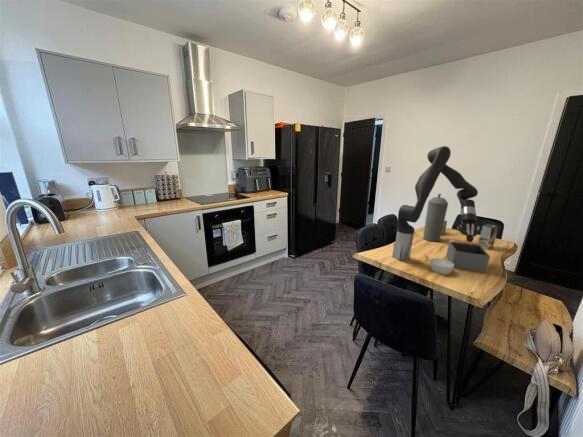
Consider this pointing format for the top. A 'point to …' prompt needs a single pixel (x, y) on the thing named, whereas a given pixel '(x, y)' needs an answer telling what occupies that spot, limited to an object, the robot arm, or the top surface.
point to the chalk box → (444, 228)
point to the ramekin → (441, 266)
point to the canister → (435, 218)
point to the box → (468, 257)
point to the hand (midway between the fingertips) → (470, 241)
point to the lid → (470, 243)
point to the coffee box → (488, 235)
